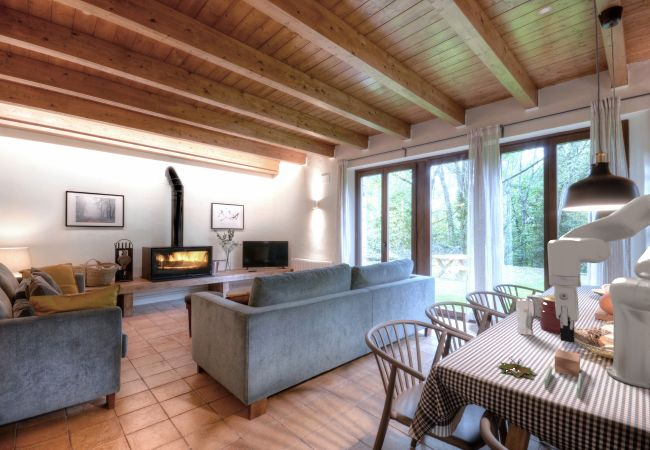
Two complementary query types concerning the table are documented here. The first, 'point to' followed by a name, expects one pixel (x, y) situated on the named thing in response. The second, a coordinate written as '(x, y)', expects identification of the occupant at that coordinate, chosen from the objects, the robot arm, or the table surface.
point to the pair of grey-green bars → (551, 374)
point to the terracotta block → (567, 362)
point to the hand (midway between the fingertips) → (567, 340)
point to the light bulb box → (536, 303)
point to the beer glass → (525, 315)
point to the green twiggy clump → (517, 367)
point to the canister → (550, 315)
